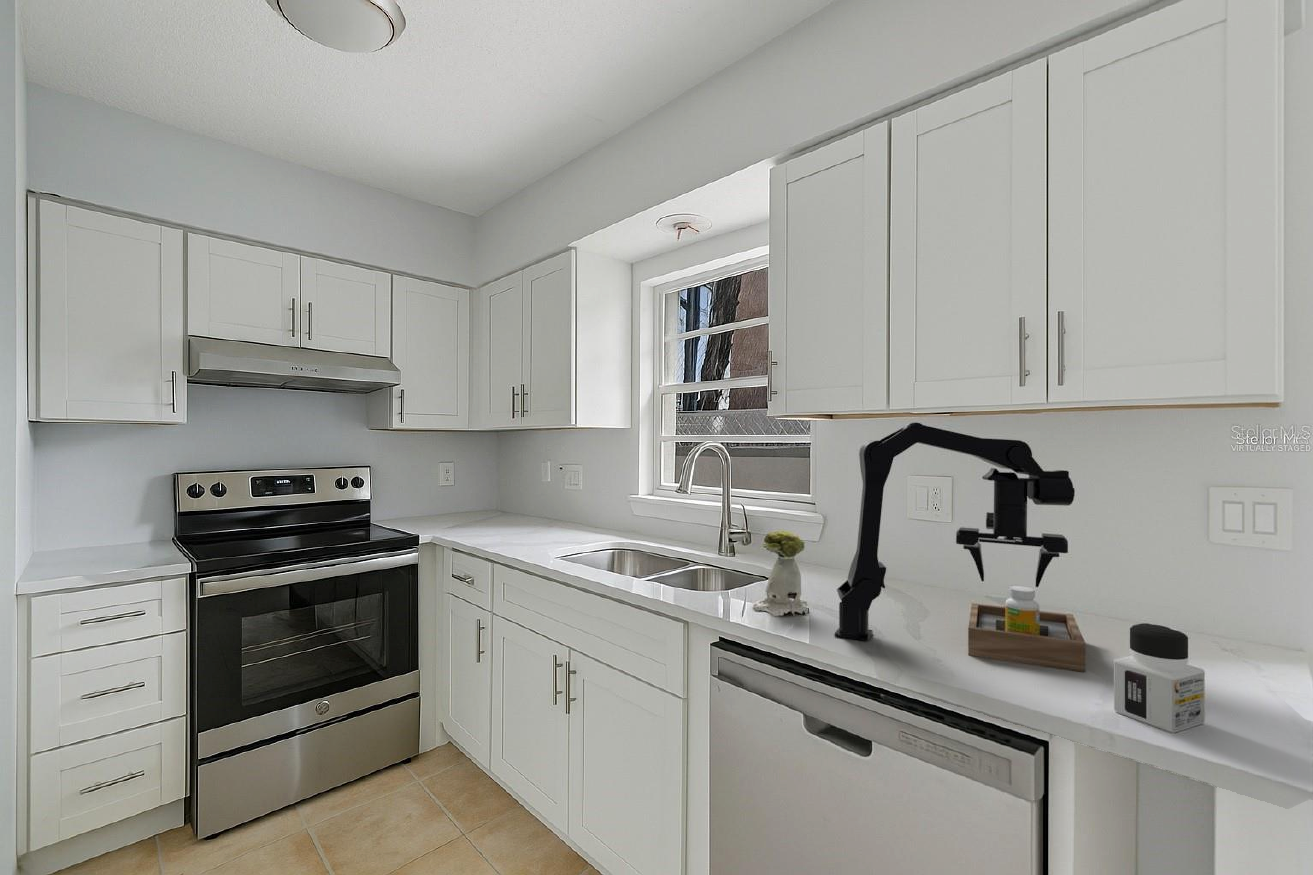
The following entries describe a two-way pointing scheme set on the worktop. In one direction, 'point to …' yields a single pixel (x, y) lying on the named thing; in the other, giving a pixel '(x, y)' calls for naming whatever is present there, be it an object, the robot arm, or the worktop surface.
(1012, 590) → the supplement bottle
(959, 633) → the worktop surface
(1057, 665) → the tray
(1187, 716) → the container
